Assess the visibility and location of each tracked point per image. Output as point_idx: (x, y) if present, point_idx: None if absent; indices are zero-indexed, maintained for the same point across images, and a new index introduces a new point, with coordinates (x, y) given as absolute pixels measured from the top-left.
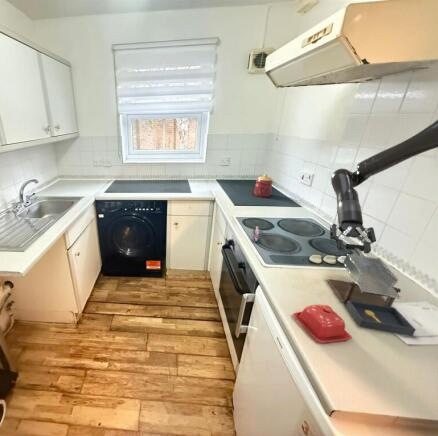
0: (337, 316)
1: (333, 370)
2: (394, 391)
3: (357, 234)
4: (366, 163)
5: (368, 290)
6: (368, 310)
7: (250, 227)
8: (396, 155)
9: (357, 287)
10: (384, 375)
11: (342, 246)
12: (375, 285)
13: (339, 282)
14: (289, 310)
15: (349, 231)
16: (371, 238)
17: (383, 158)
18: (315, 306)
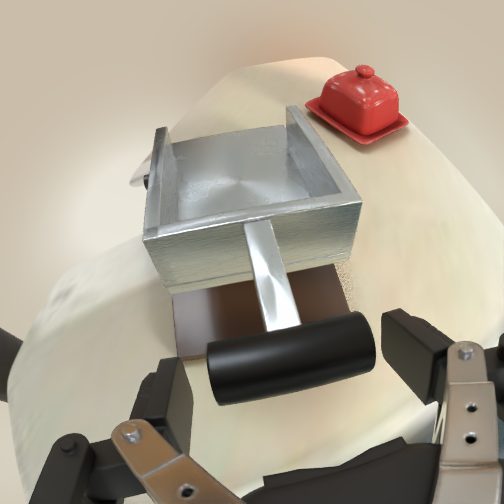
0: (342, 78)
1: (330, 75)
2: (261, 75)
3: (280, 493)
4: None
5: (263, 131)
6: None
7: None
8: None
9: (242, 310)
10: (266, 85)
11: (400, 317)
12: (230, 156)
13: (311, 317)
14: (417, 141)
15: (422, 486)
16: (87, 476)
17: None
18: (384, 87)
